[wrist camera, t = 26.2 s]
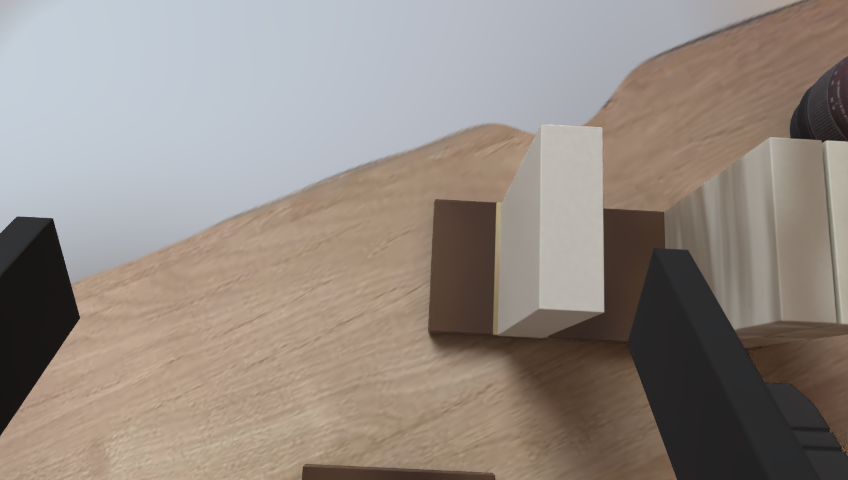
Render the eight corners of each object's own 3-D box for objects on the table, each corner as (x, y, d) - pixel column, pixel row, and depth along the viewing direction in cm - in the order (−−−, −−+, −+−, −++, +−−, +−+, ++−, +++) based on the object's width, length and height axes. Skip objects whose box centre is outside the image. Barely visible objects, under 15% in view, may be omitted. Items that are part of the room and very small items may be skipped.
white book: (497, 335, 45) (539, 309, 31) (501, 202, 47) (541, 123, 33) (543, 338, 45) (604, 312, 31) (544, 205, 47) (602, 127, 33)
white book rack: (428, 333, 46) (439, 303, 31) (434, 203, 48) (448, 118, 33) (753, 349, 47) (917, 328, 32) (746, 220, 49) (897, 143, 34)
